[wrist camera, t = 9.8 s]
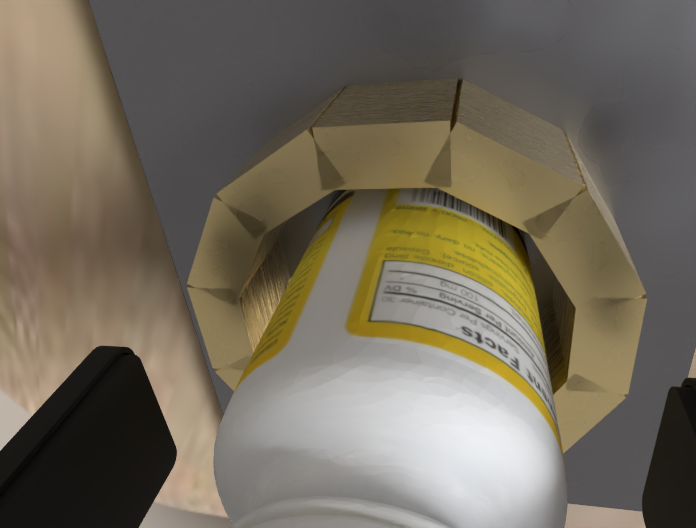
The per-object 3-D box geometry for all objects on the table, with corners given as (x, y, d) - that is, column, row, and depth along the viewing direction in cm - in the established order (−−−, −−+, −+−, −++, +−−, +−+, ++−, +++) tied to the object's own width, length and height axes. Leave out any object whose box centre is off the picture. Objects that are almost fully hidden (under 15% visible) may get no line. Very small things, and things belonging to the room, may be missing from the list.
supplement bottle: (360, 356, 16) (240, 794, 8) (285, 195, 14) (8, 580, 6) (550, 323, 14) (647, 855, 6) (500, 130, 12) (545, 570, 4)
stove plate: (96, -104, 13) (-68, -115, 9) (807, -229, 9) (1025, -331, 5) (254, 436, 22) (206, 542, 18) (639, 472, 18) (679, 612, 15)
